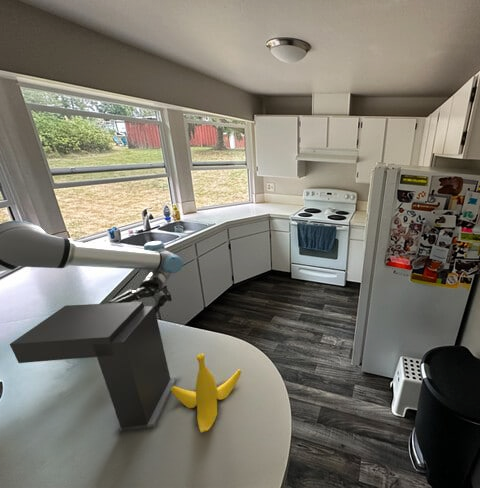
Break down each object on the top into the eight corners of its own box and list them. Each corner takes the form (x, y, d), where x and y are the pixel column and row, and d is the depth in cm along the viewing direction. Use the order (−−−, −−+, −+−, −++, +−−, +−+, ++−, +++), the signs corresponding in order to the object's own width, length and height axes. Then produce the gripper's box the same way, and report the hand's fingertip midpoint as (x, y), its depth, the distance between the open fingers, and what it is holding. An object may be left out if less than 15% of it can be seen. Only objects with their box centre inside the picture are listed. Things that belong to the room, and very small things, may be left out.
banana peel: (173, 394, 72) (162, 348, 67) (242, 376, 79) (237, 333, 73) (161, 455, 58) (146, 402, 52) (246, 427, 64) (241, 377, 59)
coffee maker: (54, 439, 60) (9, 344, 51) (95, 388, 73) (65, 305, 64) (154, 427, 64) (129, 335, 54) (176, 380, 77) (159, 300, 67)
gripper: (186, 288, 112) (174, 316, 93) (120, 295, 105) (92, 327, 86) (183, 273, 109) (171, 299, 90) (116, 279, 102) (86, 308, 83)
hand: (132, 312), depth 88 cm, fingers open, 13 cm apart
